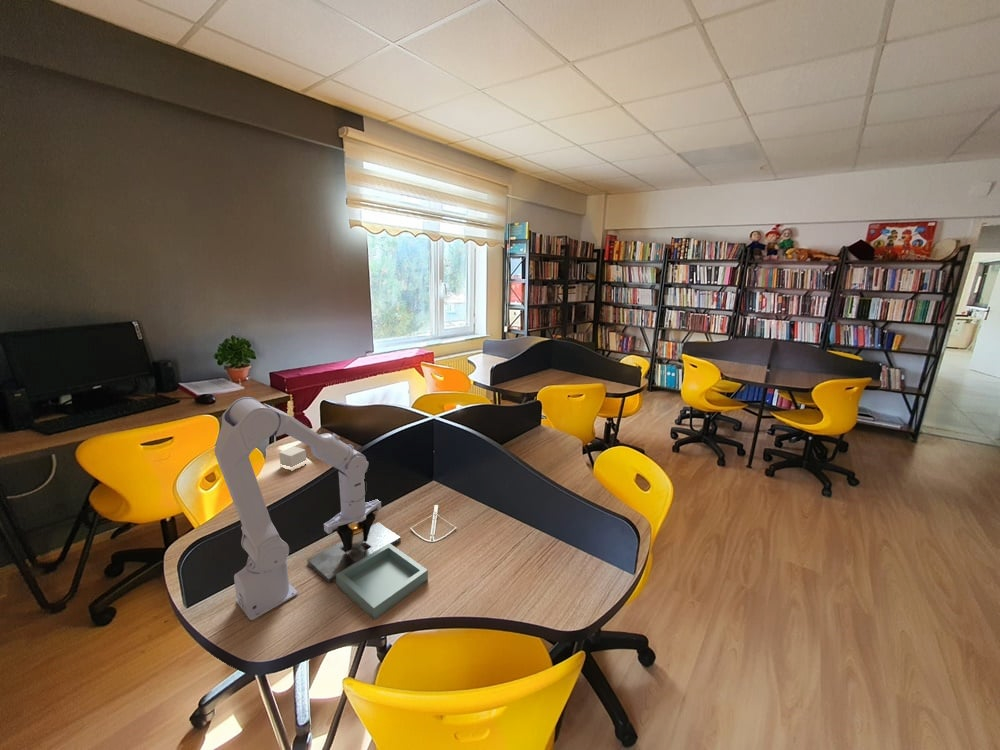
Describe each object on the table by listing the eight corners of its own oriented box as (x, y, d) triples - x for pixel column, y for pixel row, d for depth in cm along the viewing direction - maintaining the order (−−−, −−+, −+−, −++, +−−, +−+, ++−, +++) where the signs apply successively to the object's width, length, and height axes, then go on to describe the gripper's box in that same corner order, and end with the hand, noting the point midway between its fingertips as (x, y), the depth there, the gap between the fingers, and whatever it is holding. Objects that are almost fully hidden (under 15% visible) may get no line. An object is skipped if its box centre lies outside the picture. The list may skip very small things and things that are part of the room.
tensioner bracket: (329, 583, 92) (328, 579, 92) (307, 563, 98) (307, 559, 98) (400, 541, 107) (400, 537, 107) (378, 525, 113) (377, 522, 113)
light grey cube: (292, 471, 141) (290, 456, 140) (280, 467, 144) (278, 452, 142) (306, 464, 147) (305, 449, 145) (295, 461, 149) (294, 446, 148)
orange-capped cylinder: (353, 559, 100) (351, 534, 98) (344, 552, 102) (342, 528, 101) (367, 551, 103) (366, 527, 101) (358, 544, 105) (357, 520, 104)
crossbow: (455, 546, 108) (455, 539, 108) (407, 546, 107) (407, 540, 106) (457, 508, 123) (457, 503, 123) (415, 509, 122) (415, 503, 122)
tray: (374, 620, 83) (373, 608, 82) (336, 585, 91) (335, 574, 91) (427, 580, 94) (427, 569, 93) (389, 553, 102) (389, 543, 102)
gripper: (333, 515, 91) (337, 566, 94) (387, 490, 102) (389, 537, 105) (317, 503, 95) (321, 553, 98) (371, 480, 106) (373, 526, 109)
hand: (355, 544), depth 102 cm, fingers closed on orange-capped cylinder, 4 cm apart
